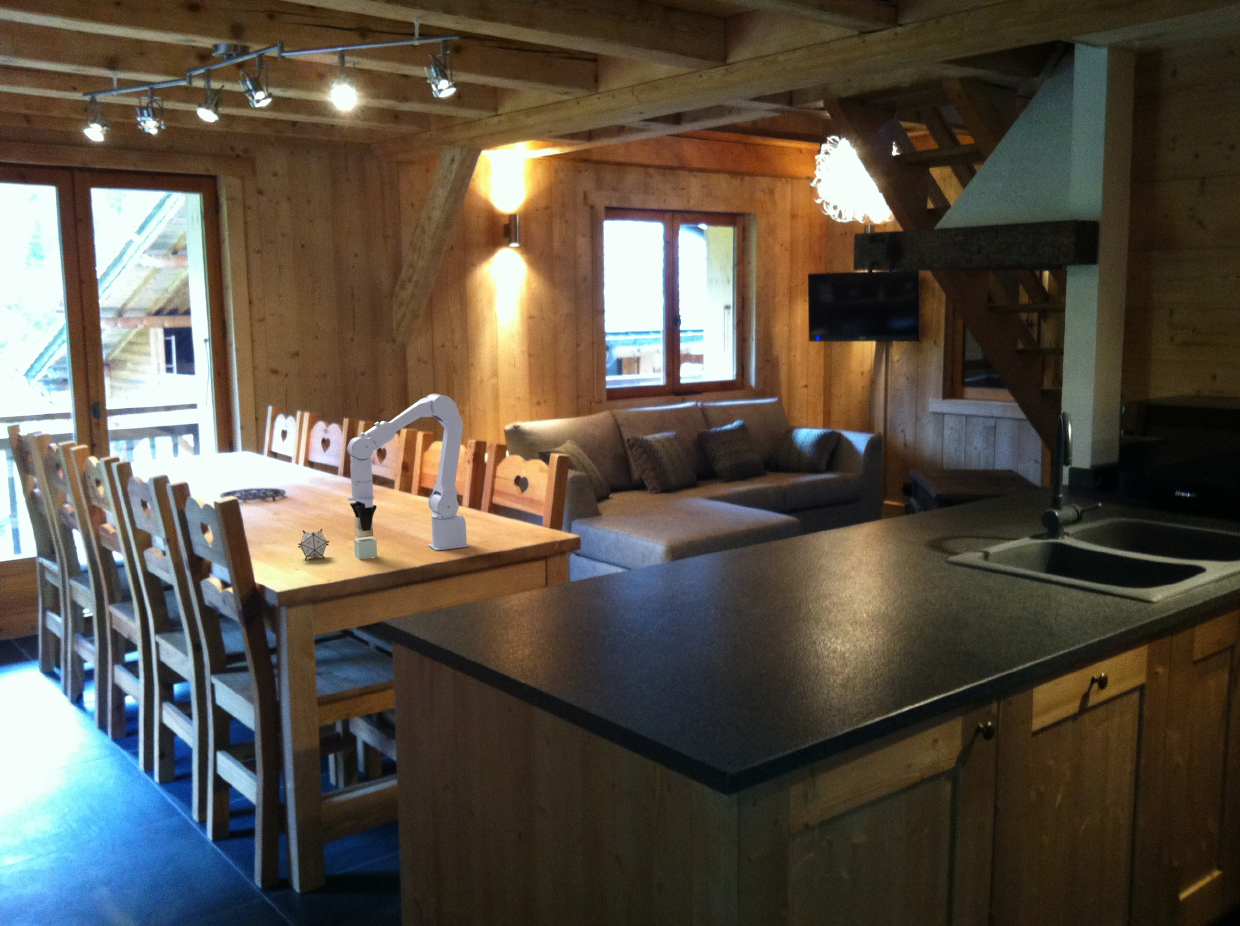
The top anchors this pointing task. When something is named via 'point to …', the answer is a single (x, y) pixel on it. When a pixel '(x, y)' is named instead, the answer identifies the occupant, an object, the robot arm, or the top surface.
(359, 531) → the birch block
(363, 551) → the base block
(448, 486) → the robot arm
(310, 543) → the game die
